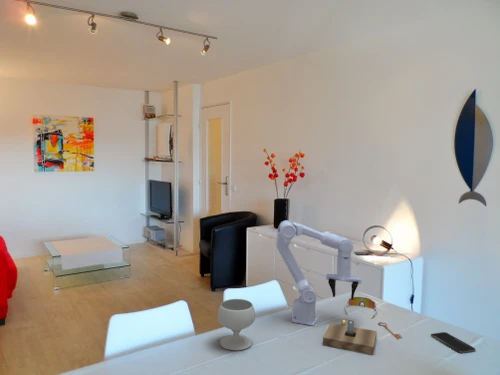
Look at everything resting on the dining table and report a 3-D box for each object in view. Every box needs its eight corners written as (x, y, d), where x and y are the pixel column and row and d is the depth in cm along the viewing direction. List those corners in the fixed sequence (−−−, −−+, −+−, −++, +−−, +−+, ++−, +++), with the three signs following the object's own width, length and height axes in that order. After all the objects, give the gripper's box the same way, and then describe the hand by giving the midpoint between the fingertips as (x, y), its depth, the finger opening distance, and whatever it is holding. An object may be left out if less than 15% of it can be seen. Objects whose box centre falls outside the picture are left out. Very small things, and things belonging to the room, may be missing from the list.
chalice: (209, 343, 146) (210, 304, 145) (236, 331, 156) (236, 295, 155) (236, 356, 136) (236, 315, 135) (262, 343, 147) (263, 304, 146)
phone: (459, 352, 141) (429, 334, 155) (459, 355, 141) (429, 336, 155) (477, 349, 143) (445, 331, 158) (476, 352, 143) (445, 334, 158)
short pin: (340, 330, 159) (340, 320, 159) (341, 327, 161) (341, 318, 161) (346, 331, 158) (346, 321, 158) (347, 328, 161) (347, 319, 160)
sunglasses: (377, 308, 184) (378, 298, 183) (375, 324, 171) (376, 314, 170) (347, 303, 189) (347, 294, 188) (342, 319, 176) (342, 309, 175)
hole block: (322, 345, 146) (323, 337, 146) (329, 330, 159) (330, 323, 159) (373, 355, 139) (373, 346, 139) (376, 338, 152) (376, 331, 152)
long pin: (346, 342, 149) (347, 321, 148) (347, 339, 151) (348, 319, 150) (352, 343, 148) (353, 323, 147) (353, 341, 150) (354, 320, 149)
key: (407, 340, 153) (389, 324, 167) (407, 338, 152) (389, 322, 167) (393, 340, 152) (376, 323, 167) (393, 337, 152) (376, 321, 167)
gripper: (324, 266, 165) (324, 298, 166) (360, 270, 160) (359, 303, 161) (328, 262, 172) (327, 293, 173) (362, 266, 166) (361, 297, 167)
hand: (343, 297), depth 167 cm, fingers open, 7 cm apart
